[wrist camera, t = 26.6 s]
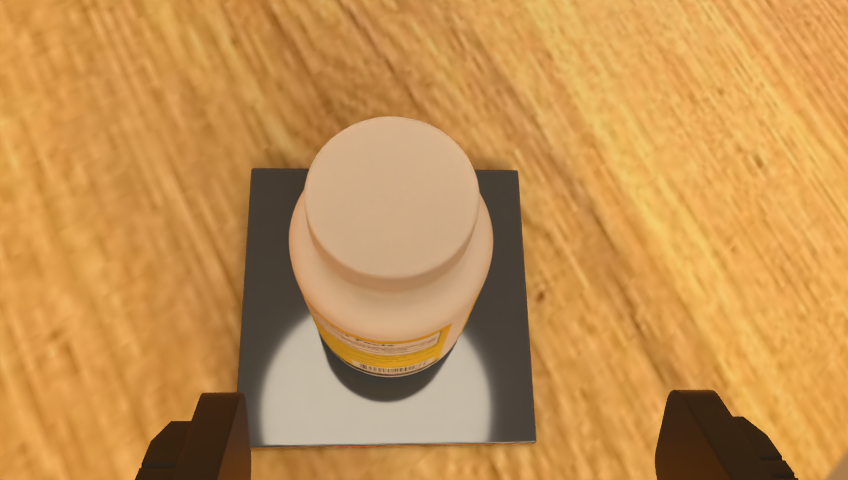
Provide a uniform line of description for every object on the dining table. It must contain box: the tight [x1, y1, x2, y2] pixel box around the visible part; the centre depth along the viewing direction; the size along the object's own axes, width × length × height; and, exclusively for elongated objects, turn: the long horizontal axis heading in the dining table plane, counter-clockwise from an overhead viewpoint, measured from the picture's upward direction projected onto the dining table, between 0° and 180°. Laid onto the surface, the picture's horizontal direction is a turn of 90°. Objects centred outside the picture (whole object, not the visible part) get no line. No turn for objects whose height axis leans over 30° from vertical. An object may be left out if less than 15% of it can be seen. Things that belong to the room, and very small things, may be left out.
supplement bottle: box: [289, 116, 493, 377], centre depth 21 cm, size 5×5×10 cm
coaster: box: [237, 168, 536, 449], centre depth 26 cm, size 10×10×1 cm
